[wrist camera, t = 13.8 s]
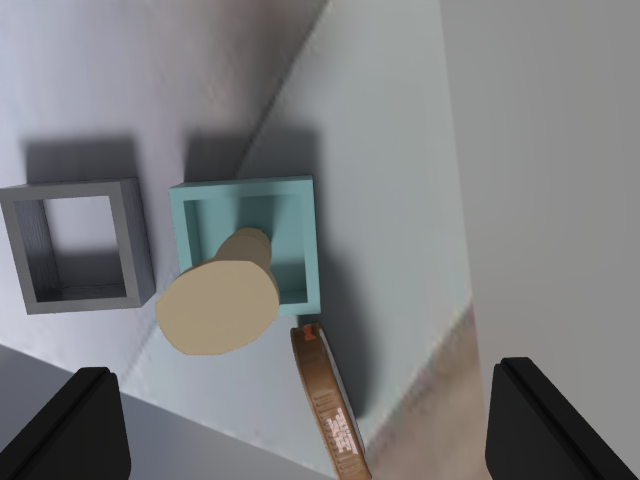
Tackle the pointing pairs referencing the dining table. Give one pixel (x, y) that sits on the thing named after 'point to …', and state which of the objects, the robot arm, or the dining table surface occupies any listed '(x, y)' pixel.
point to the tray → (256, 212)
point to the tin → (329, 402)
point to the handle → (222, 298)
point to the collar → (38, 256)
